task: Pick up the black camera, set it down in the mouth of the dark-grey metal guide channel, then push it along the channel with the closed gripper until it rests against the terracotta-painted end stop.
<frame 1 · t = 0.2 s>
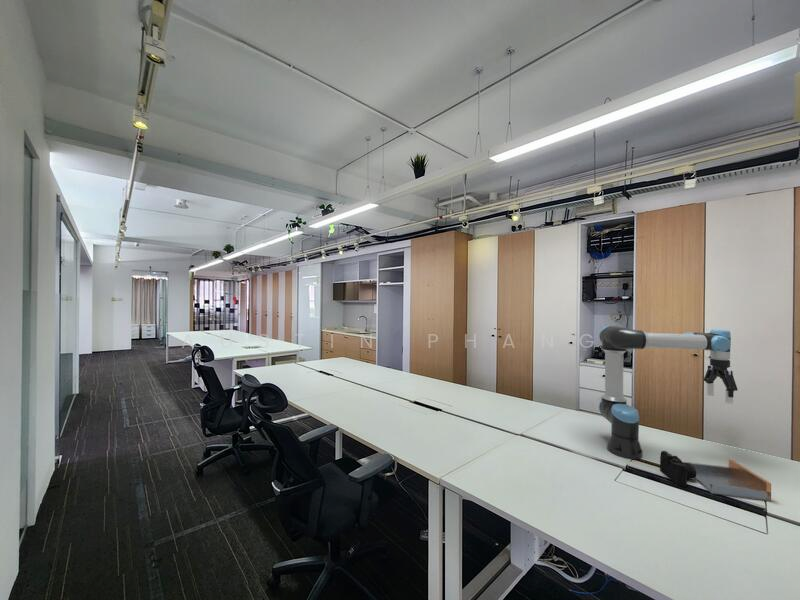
hand: (719, 399, 167), 28 cm above the table, fingers open, 13 cm apart
channel: (720, 483, 138), on the table
camera: (679, 479, 141), on the table
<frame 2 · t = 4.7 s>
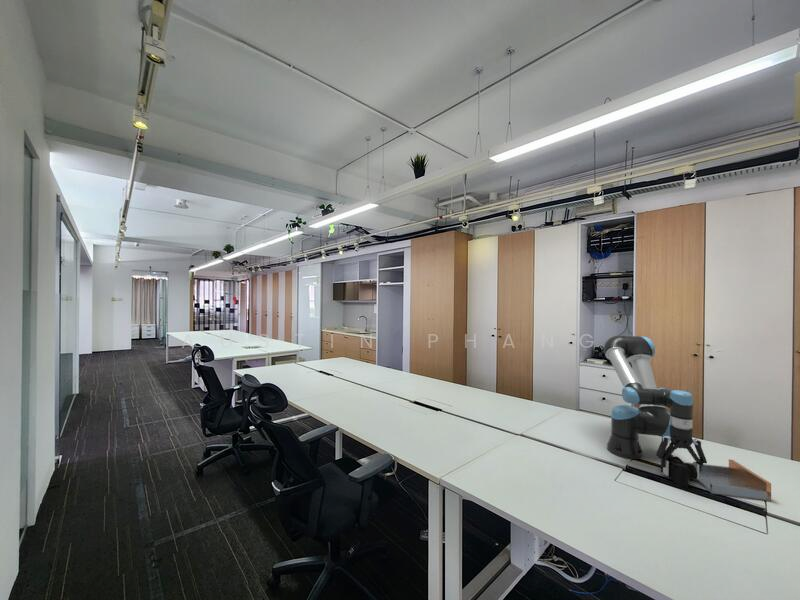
hand: (680, 476, 141), 1 cm above the table, fingers open, 11 cm apart
nothing on the table moved.
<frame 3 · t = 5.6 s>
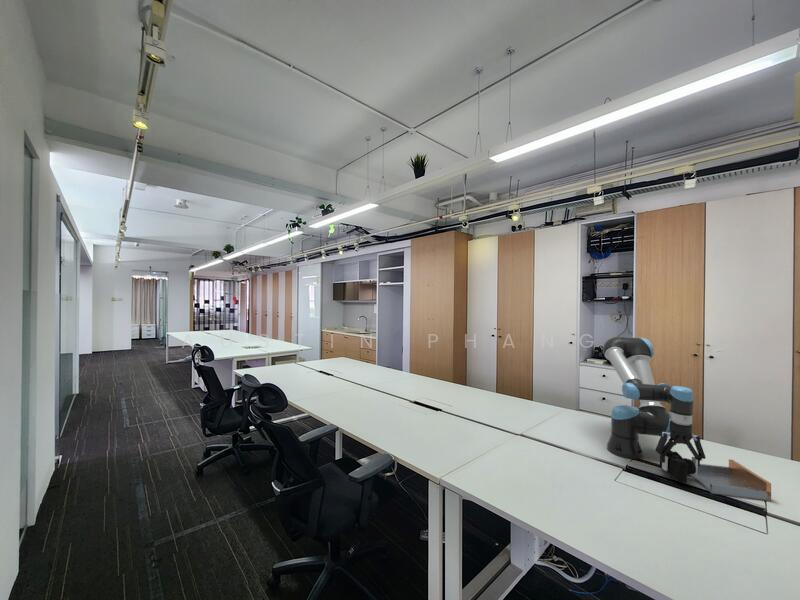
hand: (679, 471, 142), 3 cm above the table, fingers closed on camera, 11 cm apart
camera: (679, 475, 142), point 1 cm above the table, touching gripper
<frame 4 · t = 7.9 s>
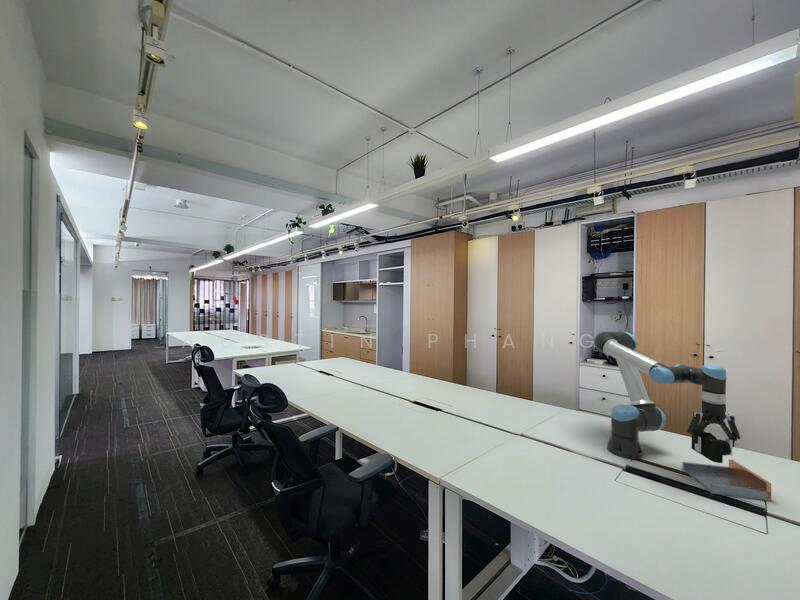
hand: (713, 452, 139), 13 cm above the table, fingers closed on camera, 10 cm apart
camera: (713, 456, 138), point 12 cm above the table, touching gripper
when the fingers open (3 cm above the table, at t = 10.1 s): camera drops 1 cm, resting on channel.
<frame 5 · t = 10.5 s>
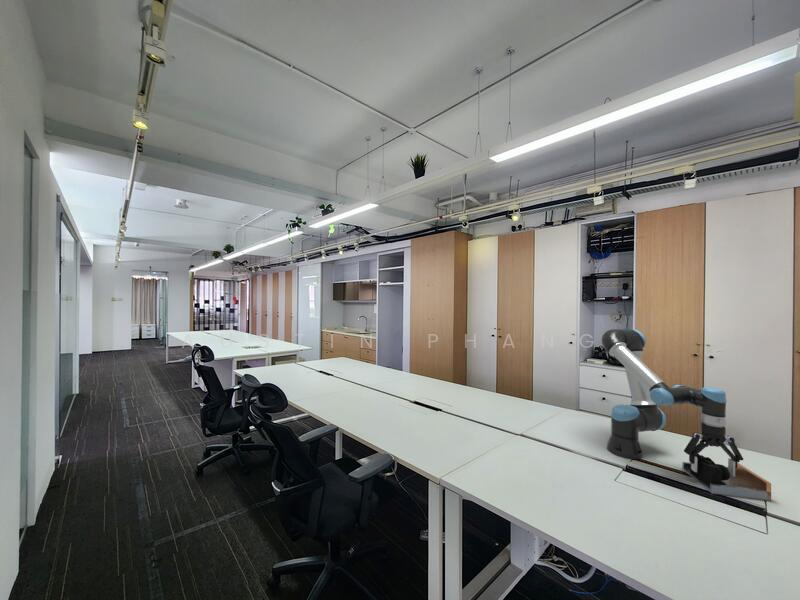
hand: (712, 472, 139), 4 cm above the table, fingers open, 13 cm apart
camera: (712, 481, 138), point 1 cm above the table, touching channel
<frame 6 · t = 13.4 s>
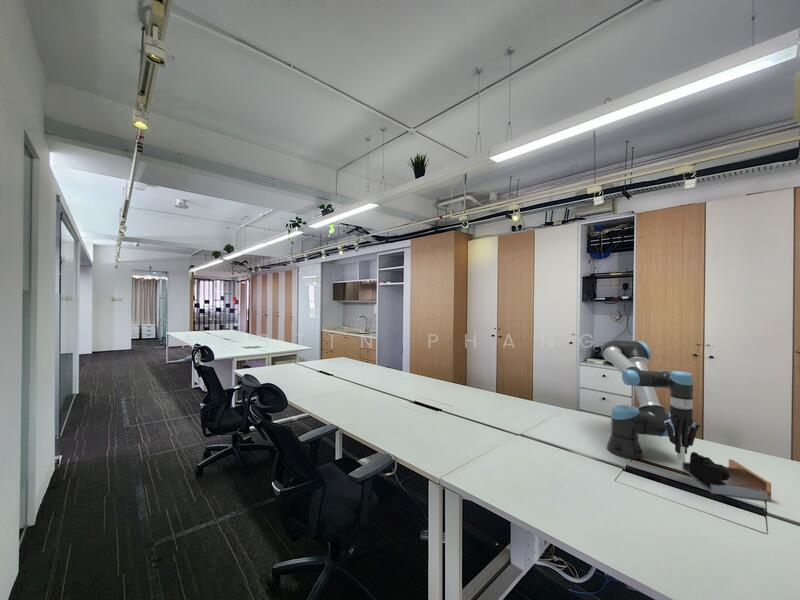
hand: (681, 460, 141), 8 cm above the table, fingers closed
nothing on the table moved.
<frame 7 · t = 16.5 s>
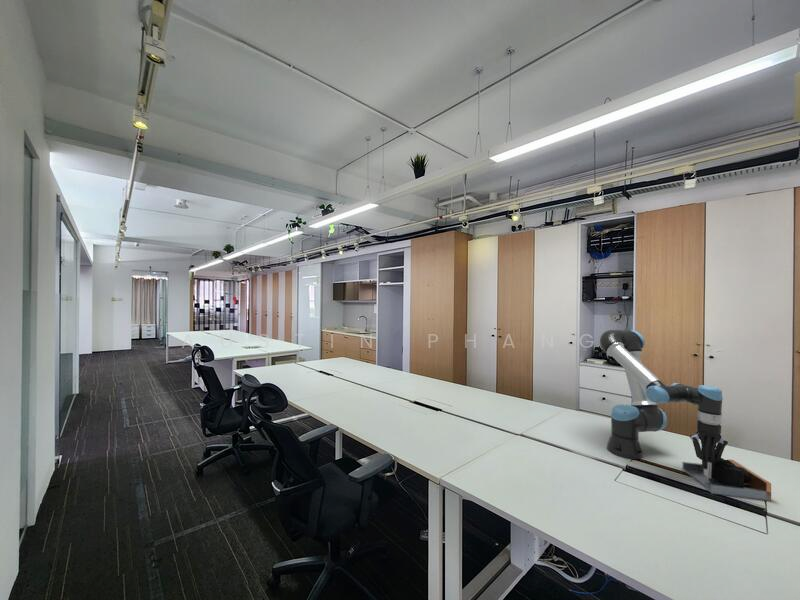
hand: (707, 476, 139), 3 cm above the table, fingers closed
camera: (732, 484, 136), point 1 cm above the table, touching channel, hand
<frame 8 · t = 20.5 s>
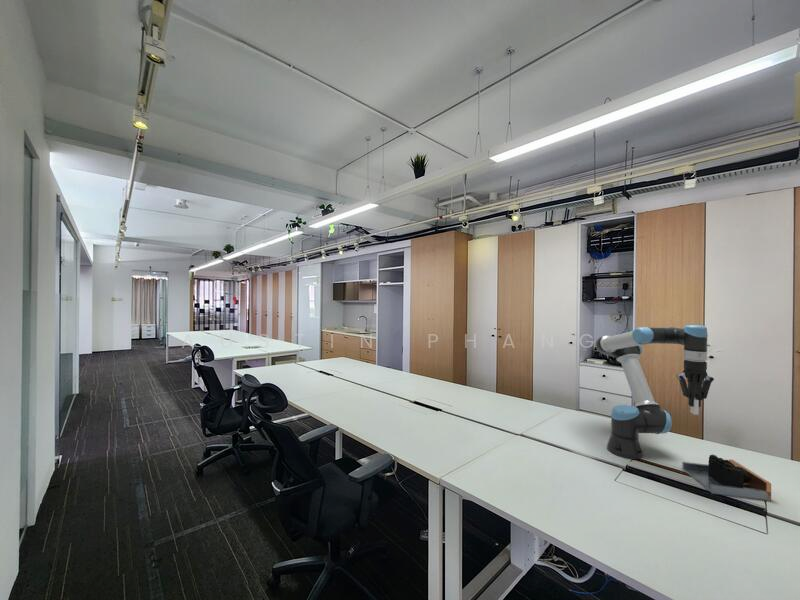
hand: (694, 413, 140), 29 cm above the table, fingers closed
camera: (732, 484, 136), point 1 cm above the table, touching channel
at the end: camera inside the target area on the channel (1.3 cm from its centre), point 0.8 cm above the channel's base; camera tilted 0°; the gripper is holding nothing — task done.
